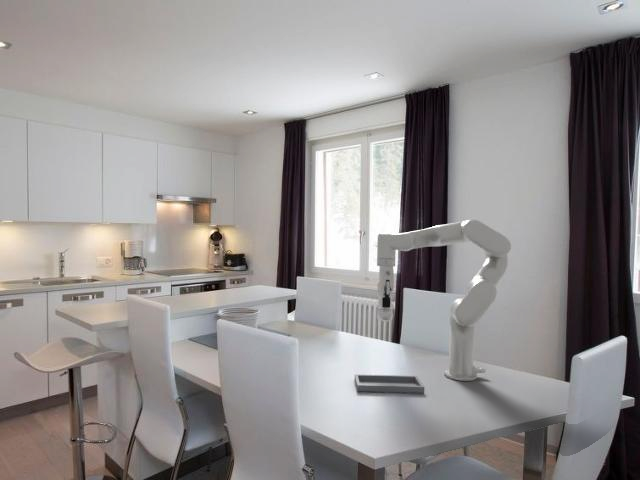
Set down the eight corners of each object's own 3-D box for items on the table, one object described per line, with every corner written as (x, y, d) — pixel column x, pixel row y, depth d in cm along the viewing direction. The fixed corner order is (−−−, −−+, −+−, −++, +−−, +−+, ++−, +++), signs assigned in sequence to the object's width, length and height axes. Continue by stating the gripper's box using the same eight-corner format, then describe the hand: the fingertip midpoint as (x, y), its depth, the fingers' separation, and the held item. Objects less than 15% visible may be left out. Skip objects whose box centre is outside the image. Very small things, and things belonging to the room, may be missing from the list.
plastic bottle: (392, 323, 179) (393, 274, 179) (375, 322, 181) (377, 273, 180) (393, 320, 186) (394, 272, 185) (377, 319, 187) (378, 272, 187)
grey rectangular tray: (416, 382, 170) (416, 375, 170) (424, 394, 158) (424, 386, 158) (354, 381, 170) (354, 374, 169) (357, 392, 158) (357, 385, 157)
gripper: (399, 264, 174) (397, 309, 175) (391, 261, 191) (390, 302, 192) (380, 263, 174) (378, 309, 174) (374, 261, 191) (373, 302, 192)
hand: (385, 305), depth 183 cm, fingers closed on plastic bottle, 5 cm apart
